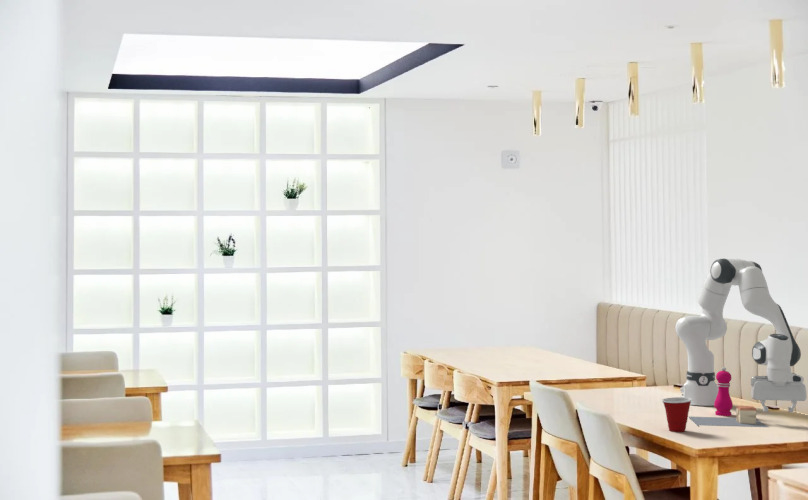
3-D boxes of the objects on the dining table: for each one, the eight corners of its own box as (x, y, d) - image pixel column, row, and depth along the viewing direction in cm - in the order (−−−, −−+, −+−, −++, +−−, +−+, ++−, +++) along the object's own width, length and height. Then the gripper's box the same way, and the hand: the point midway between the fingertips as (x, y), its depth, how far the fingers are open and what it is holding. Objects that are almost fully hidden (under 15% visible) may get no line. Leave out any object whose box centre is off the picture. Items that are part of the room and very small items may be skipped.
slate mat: (688, 417, 386) (688, 416, 386) (755, 419, 383) (755, 418, 383) (698, 426, 366) (698, 425, 366) (768, 428, 363) (768, 427, 363)
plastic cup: (658, 427, 362) (658, 396, 362) (687, 428, 362) (687, 396, 362) (664, 433, 351) (665, 400, 351) (694, 433, 351) (695, 400, 351)
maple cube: (736, 420, 377) (736, 405, 377) (752, 421, 376) (752, 405, 377) (740, 423, 371) (740, 407, 371) (756, 423, 371) (756, 408, 371)
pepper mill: (720, 417, 387) (721, 368, 387) (710, 414, 394) (710, 366, 394) (736, 417, 389) (736, 367, 389) (725, 414, 396) (726, 365, 396)
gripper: (753, 376, 371) (752, 412, 371) (808, 377, 368) (807, 414, 368) (749, 374, 377) (748, 409, 377) (803, 375, 375) (802, 411, 375)
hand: (778, 411), depth 373 cm, fingers open, 8 cm apart
